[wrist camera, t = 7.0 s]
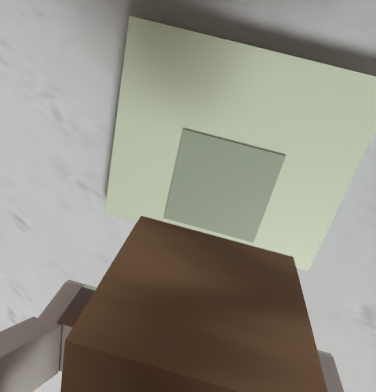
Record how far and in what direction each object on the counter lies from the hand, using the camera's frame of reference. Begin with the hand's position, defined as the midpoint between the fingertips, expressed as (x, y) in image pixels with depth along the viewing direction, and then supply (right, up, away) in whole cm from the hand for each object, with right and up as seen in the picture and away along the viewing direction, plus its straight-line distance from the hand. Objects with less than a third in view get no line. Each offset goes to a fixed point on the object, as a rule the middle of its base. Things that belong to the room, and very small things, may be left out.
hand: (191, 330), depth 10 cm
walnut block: (0, +1, +1) cm, 2 cm away
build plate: (+2, +7, +10) cm, 12 cm away
